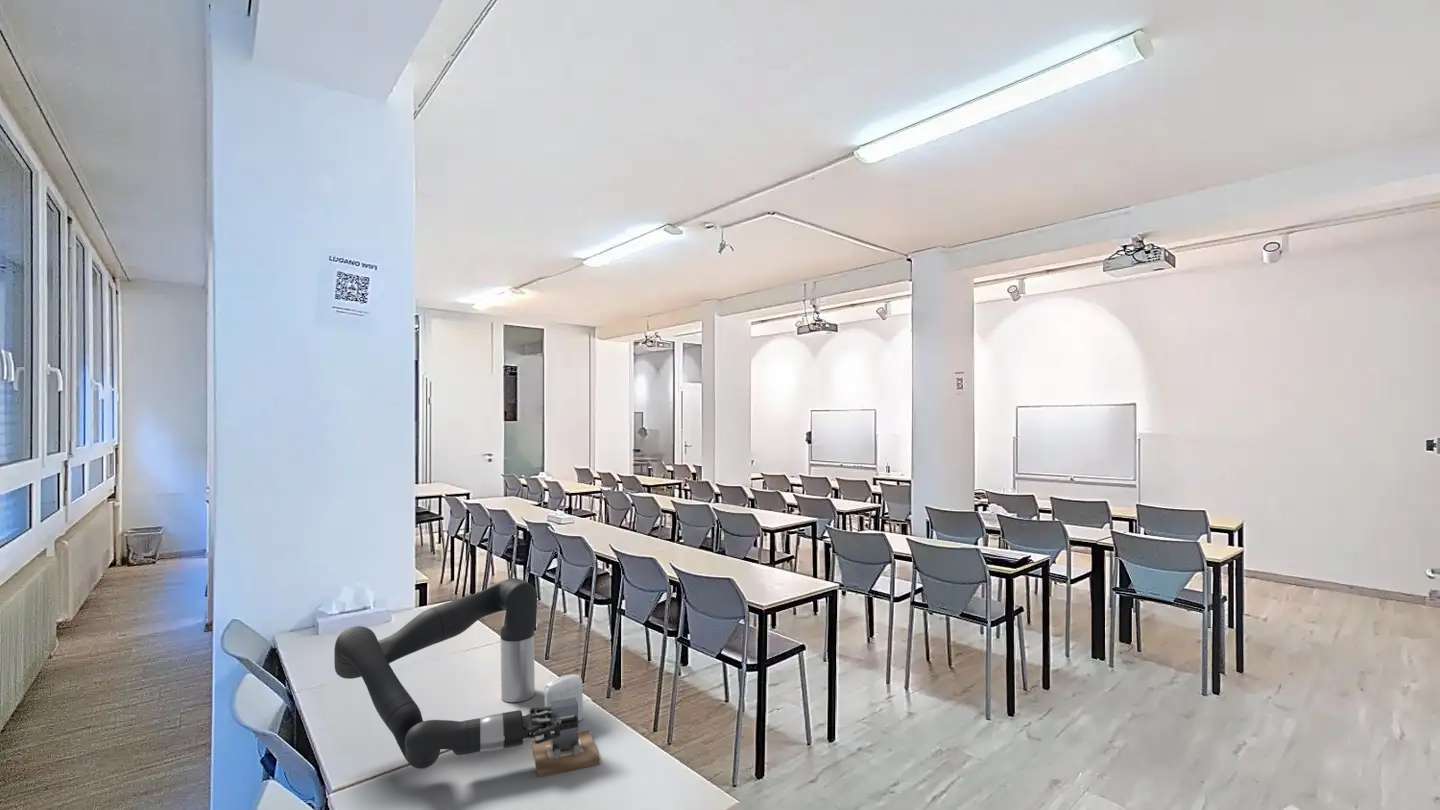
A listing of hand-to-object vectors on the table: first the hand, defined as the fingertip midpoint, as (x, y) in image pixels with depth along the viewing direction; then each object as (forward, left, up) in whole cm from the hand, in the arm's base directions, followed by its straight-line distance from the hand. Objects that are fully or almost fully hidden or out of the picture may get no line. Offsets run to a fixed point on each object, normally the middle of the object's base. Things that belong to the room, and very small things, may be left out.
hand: (575, 717), depth 158 cm
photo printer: (-16, -1, -9) cm, 18 cm away
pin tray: (0, -3, -9) cm, 9 cm away
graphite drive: (0, -3, -6) cm, 7 cm away
